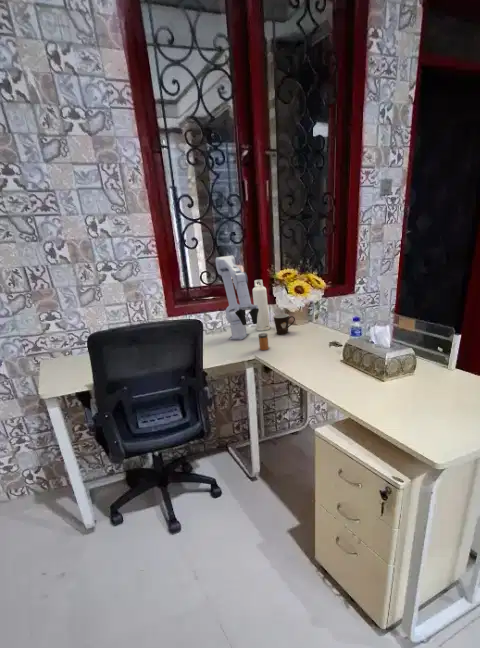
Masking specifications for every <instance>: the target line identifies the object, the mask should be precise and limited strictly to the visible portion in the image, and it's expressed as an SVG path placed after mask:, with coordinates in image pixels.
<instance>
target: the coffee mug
mask: <svg viewBox="0 0 480 648" xmlns="http://www.w3.org/2000/svg"><path fill="white" fill-rule="evenodd" d="M290 318H293V321H292V322H291V323H290V324H289V321H290ZM273 321H274V325H275V326H274V327H275V330H276V334H277V335H279V336H284V335H288V333H289V328H290V327H291V326H292V325H293V324H294V323H295V322H296V320H295V316H293V315H289V314H287V313H277V314H274V315H273Z"/></svg>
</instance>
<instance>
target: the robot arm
mask: <svg viewBox="0 0 480 648" xmlns="http://www.w3.org/2000/svg"><path fill="white" fill-rule="evenodd" d="M214 261H215V268H216V271H217V274H218V275H219V276H221V279H222V282H223V285H224V290H225V293H226V294H225V295H226V298H227V302H228V306H227V307H226V308H225V318H226V321H227V323H228V324H229V325H230V333H231V337H229V340H241V341H242V340H243V339H245V338H246V337H247V336H248V335H249V333H247V318H246V311H248V313H249V315H250V318H251V321H252V324H253V325H256V324H257V315H258V311H259V309H258V306H257V305H254V303H252V300H251V296H250V291H249V288H248V275H247V272H246V271H242V270H241V269H240V268H239V266H237V265H236V257H235V256H234V255H233V254H232V255H226V256H217V257H215V260H214ZM235 290H236V292H235ZM236 293H237V296H236ZM237 298H238V300H237Z"/></svg>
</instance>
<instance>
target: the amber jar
mask: <svg viewBox="0 0 480 648" xmlns="http://www.w3.org/2000/svg"><path fill="white" fill-rule="evenodd" d="M268 336H269V335H268V333H265V332H261V333H258V335H257V337H258V344H259V345H258V346H259V350H260V351H267V350H269V348H270V347H269V337H268Z"/></svg>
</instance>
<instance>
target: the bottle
mask: <svg viewBox="0 0 480 648" xmlns="http://www.w3.org/2000/svg"><path fill="white" fill-rule="evenodd" d="M251 290H252V298H253V305H257V306H258V309H259V311H258V315H257V324H255V327H256V331H268V330H270V329H271V328H270V327H271V326H270V314H269V303H268V293H267V288H266V286H264V283H263V279H255V280H254V287H253V288H252V289H251Z"/></svg>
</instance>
